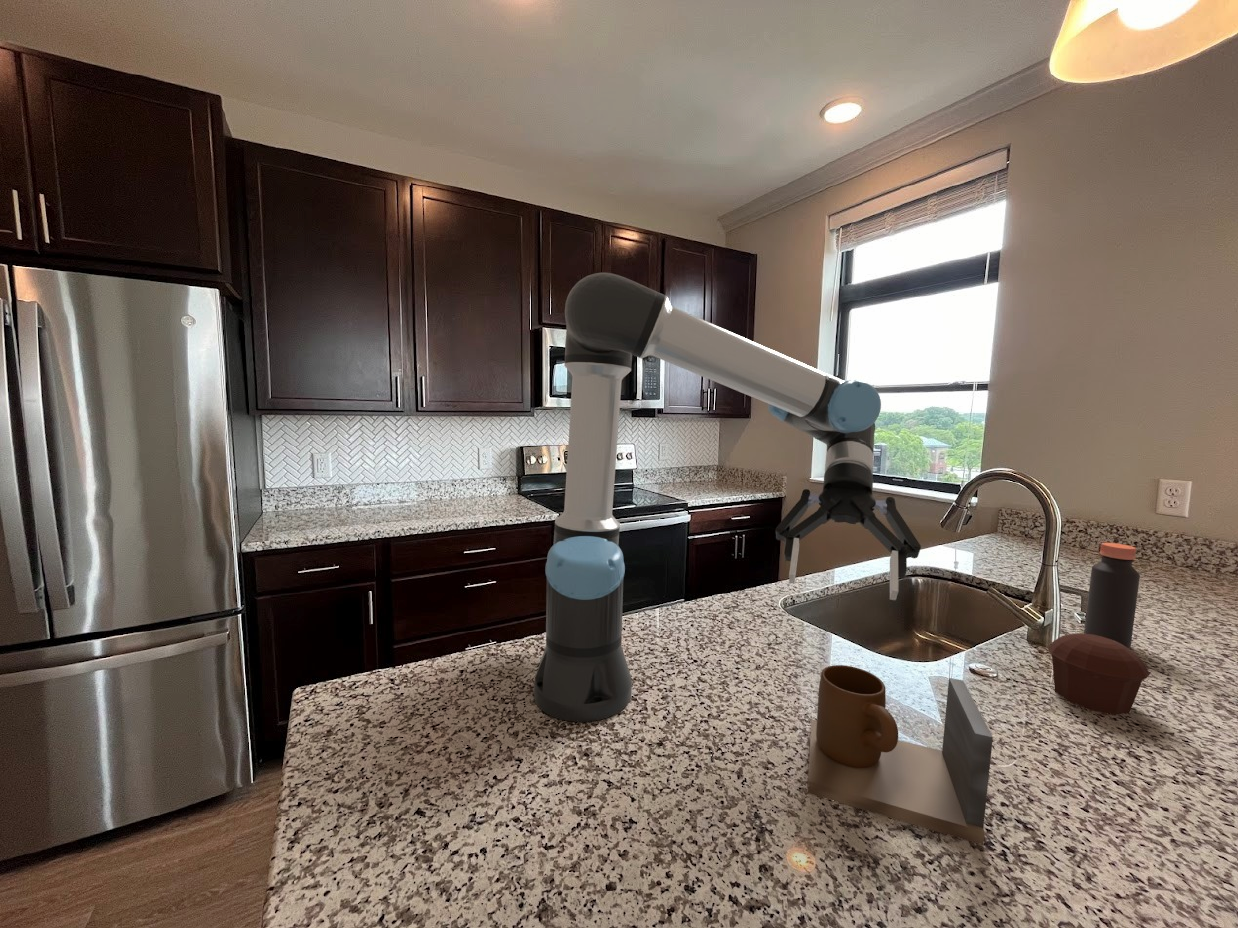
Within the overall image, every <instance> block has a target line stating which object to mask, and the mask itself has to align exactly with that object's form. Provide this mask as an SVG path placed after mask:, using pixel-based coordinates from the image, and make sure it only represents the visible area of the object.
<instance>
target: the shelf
mask: <svg viewBox="0 0 1238 928" xmlns="http://www.w3.org/2000/svg"><path fill="white" fill-rule="evenodd" d="M947 684H948V685H947V695H946V706H945V719H944V726H943V738H942V748H941V749H938V748H934V747H929V746H925V745H921V744H916V743H914V742H907V741H904V740H900V739H898V743H897V745H896V747H895V748H894V749H893V750H892V751H890V752H887V753H886V752H881V756H880V759H879V761H878V762H877V763H876V764H875V765H873V766H870V767H865V768H857V767H851V766H847V765H844V764H841V763H839V762H837V761H835V760H833V759H832V758H830V757H829V756H827V755H826V754H825V753H824V752H823V751H822V750H821V748H820V747H819V745H818V743H817V738H816V728H817V719H814V718H812V719H810V720H811V721H810V722H811V723H810V737H809V757H808V758H809V759H808V771H807V772H808V775H807V776H808V778H807V794H809V795H812V796H815V797H819V798H823V799H825V798H826V800H829V799H830V800H829V801H832V800H834V801H833V802H836V803H840V804H843V805H846V806H849V805H850V807H853V808H857V809H859V810H860V809H861V810H863V811H867V812H870V813H873V814H877V815H880V816H883V817H888V818H891V819H894V820H897V821H900V822H904V823H907V824H909V825H912V826H913V825H914V826H917V827H921V828H924V829H927V830H931V831H934V832H937V833H941V834H945V835H949V836H951V837H954V838H957V839H961V840H964V841H968V842H971V843H975V844H978V845H981V846H984V844H985V843H984V841H985V834H986V831H985V829H984V826H985V816H986V808H987V807H986V806H987V797H988V788H989V787H988V786H989V777H990V769H991V768H990V767H991V758H992V748H993V739H994V737H993V734H992V733H991V731H990V729H989V728H988V725H987V723H986V721H985V720H984V718H983V716H982V714H981V712H980V709H979V708H978V706H977V704H976V702H975V700H974V699H973V696H972V694H971V692H970V691H969V689H968V686H967V685H966V682H965V681H964V680H962V679H957V678H952V677H948V683H947Z"/></svg>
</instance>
